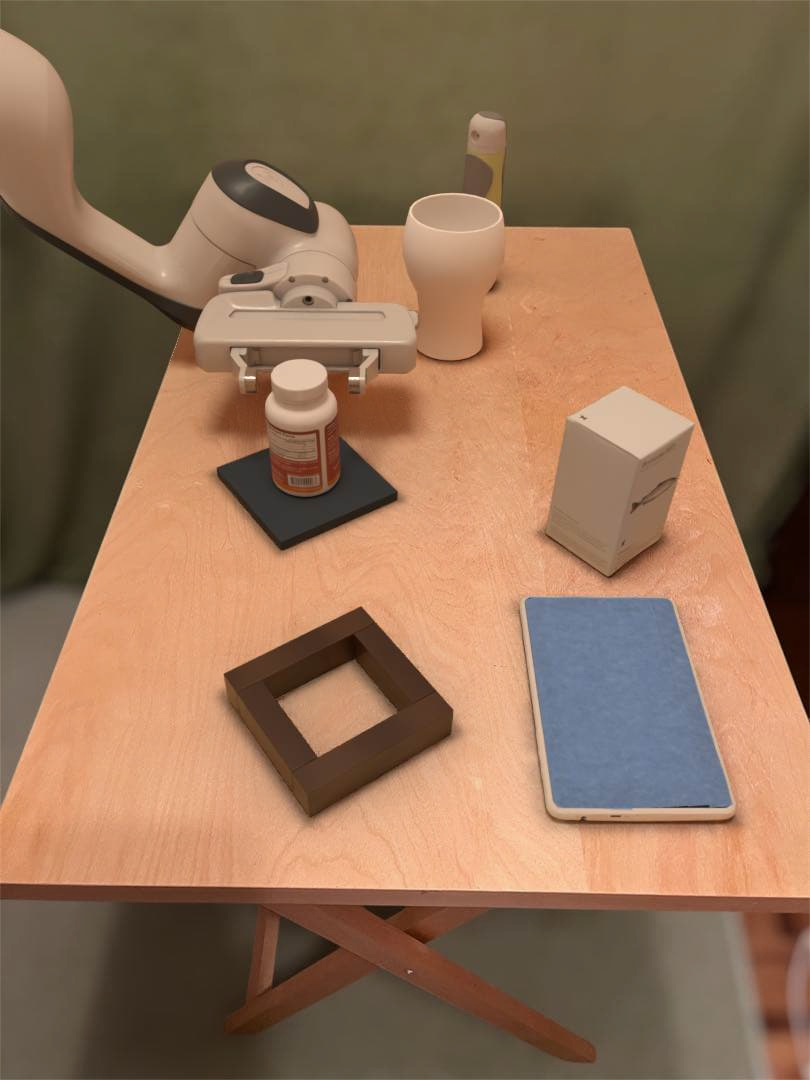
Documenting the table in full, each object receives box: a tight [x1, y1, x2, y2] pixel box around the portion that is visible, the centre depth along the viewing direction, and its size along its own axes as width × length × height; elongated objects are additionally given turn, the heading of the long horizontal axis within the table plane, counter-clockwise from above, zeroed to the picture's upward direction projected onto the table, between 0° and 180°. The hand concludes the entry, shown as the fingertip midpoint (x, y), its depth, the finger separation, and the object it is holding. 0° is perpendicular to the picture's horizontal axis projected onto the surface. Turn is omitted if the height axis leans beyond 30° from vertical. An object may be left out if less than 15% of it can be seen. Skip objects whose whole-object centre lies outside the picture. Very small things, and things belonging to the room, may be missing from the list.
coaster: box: [216, 435, 399, 551], centre depth 83 cm, size 12×12×1 cm
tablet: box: [518, 595, 737, 822], centre depth 66 cm, size 19×13×1 cm, turn 1°
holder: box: [223, 605, 454, 818], centre depth 64 cm, size 12×12×3 cm
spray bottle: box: [462, 110, 508, 289], centre depth 105 cm, size 5×5×20 cm
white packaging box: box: [544, 384, 696, 577], centre depth 75 cm, size 7×7×13 cm
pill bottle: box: [264, 359, 340, 497], centre depth 79 cm, size 6×6×11 cm
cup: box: [402, 192, 507, 361], centre depth 97 cm, size 11×11×15 cm
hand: (302, 387), depth 79 cm, fingers open, 8 cm apart
